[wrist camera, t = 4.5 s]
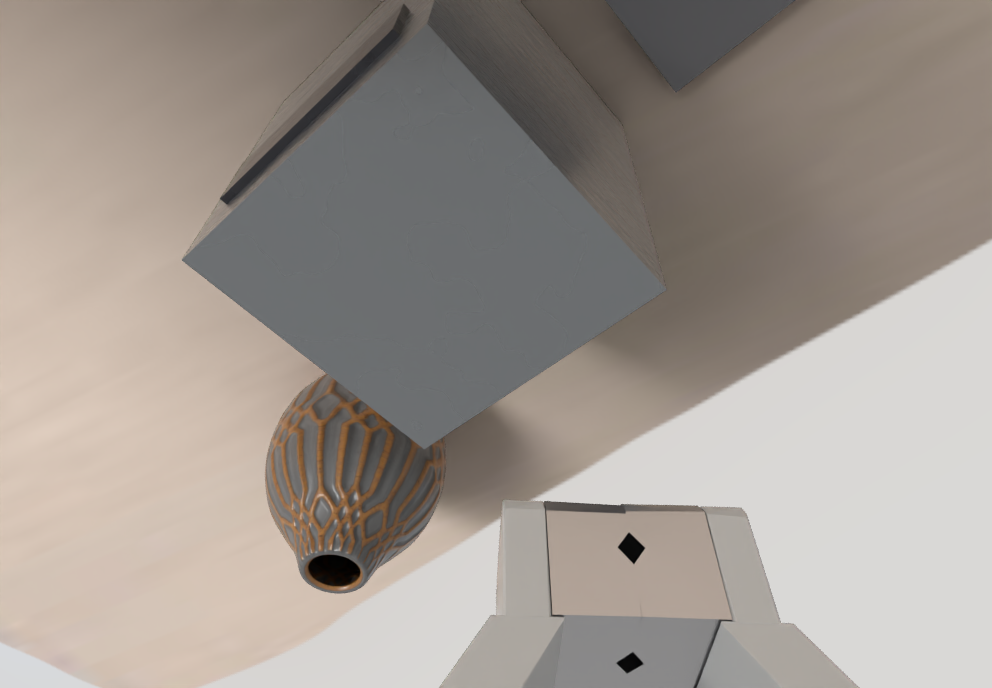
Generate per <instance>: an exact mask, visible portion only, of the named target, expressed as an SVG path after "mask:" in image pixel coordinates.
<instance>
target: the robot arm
mask: <svg viewBox="0 0 992 688" xmlns="http://www.w3.org/2000/svg"><path fill="white" fill-rule="evenodd" d="M439 688H859V687H858V686H857V685H856V684H855V683H854V682H853V681H852V680H851V679H850V678H849V677H848V676H846V675H845V673H844V672H842V671H841V670H840V669H839V668H838V667H837V666H836V665H835V664H834V663H833V662H832V661H831V660H830V659H829V658H828V657H827V656H826V655H825V654H824V653H823V652H822V651H821V650H820V649H819V648H818V647H817V646H816V645H815V644H814V643H813V642H812V641H811V640H810V639H808V637H806V635H805V634H803V633H802V632H801V631H800V630H799V629H798V628H797V627H796V626H795V625H794V624H790V623H781V621H780V618H779V615H778V612H777V609H776V605H775V602H774V599H773V596H772V593H771V589H770V587H769V583H768V580H767V577H766V574H765V571H764V567H763V564H762V561H761V558H760V555H759V551H758V548H757V545H756V542H755V539H754V536H753V532H752V529H751V526H750V523H749V520H748V517H747V514H746V513H745V512H744V511H743V509H742V508H735V507H698V506H683V505H631V504H621V505H602V504H584V503H567V502H550V501H544V503H543V502H542V501H523V500H503V503H502V512H501V525H500V539H499V553H498V572H497V590H496V615H491V616H490V617H489V618H488V620H487V621H486V623H485V624H484V626H483V627H482V628H481V630H480V631H479V632H478V634H477V635H476V637H475V638H474V640H473V641H472V642H471V644H470V645H469V646H468V648H467V649H466V651H465V652H464V653H463V655H462V656H461V658H460V659H459V660H458V662H457V663H456V665H455V666H454V667H453V669H452V670H451V672H450V673H449V674H448V676H447V677H446V679H445V680H444V681H443V683H442V684H441V686H440V687H439Z"/></svg>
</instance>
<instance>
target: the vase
mask: <svg viewBox="0 0 992 688" xmlns="http://www.w3.org/2000/svg"><path fill="white" fill-rule="evenodd" d="M445 469H446V447H445V441H444V437H442V438H441V439H439V440H438V441H436V442H435V443H433V444H432V445H430V446H429V447H427V448H426V449H423V448H422V447H421V446H419V445H418V444H417V443H416V442H414V441H413V440H412V439H410V438H409V437H408V436H407V435H405V434H404V433H403V432H401V431H400V430H399V429H398V428H396V427H395V426H394V425H392V424H391V423H390V422H389V421H387V420H386V419H385V418H383V417H382V416H381V415H380V414H378V413H377V412H376V411H374V410H373V409H372V408H371V407H369V406H368V405H367V404H366V403H364V402H363V401H362V400H360V399H359V398H358V397H357V396H355V395H354V394H353V393H351V392H350V391H349V390H348V389H346V388H345V387H344V386H342V385H341V384H340V383H339V382H337V381H336V380H335V379H333V378H332V377H331V376H330V375H328V374H326V375H324V376H322V377H320V378H318V379H317V380H315V381H314V382H313V383H311V384H310V385H308V386H307V387H306V388H305V389H303V390H302V391H301V392H300V393H299V395H298V396H297V397H296V398H295V399H294V400H293V401H292V402H291V403H290V405H289V406H288V408H287V409H286V410H285V412H284V413H283V415H282V417H281V419H280V421H279V423H278V425H277V427H276V429H275V432H274V434H273V437H272V439H271V442H270V446H269V449H268V453H267V460H266V469H265V483H266V494H267V500H268V505H269V509H270V512H271V515H272V517H273V519H274V521H275V524H276V525H277V527H278V529H279V530H280V532H281V534H282V535H283V537H284V538H285V540H286V541H287V543H288V544H289V546H290V547H291V549H292V550H293V551H294V553H295V556H296V559H297V563H298V568H299V571H300V574H301V576H302V577H303V579H304V580H305V581H306V582H307V583H308V584H309V585H311V586H313V587H314V588H316V589H319V590H321V591H325V592H329V593H348V592H352V591H355V590H358V589H359V588H361V587H362V586H364V585H365V584H366V582H367V581H368V580H369V579H370V577H371V576H372V574H373V573H374V572H375V571H376V570H377V569H378V568H379V567H380V566H382V565H383V564H385V563H386V562H388V561H389V560H391V559H392V558H394V557H395V556H397V555H398V554H400V553H401V552H402V551H404V550H405V549H406V548H408V547H409V546H410V545H411V544H412V543H413V542H414V541H415V540H416V539H417V538H418V537H419V535H420V534H421V533H422V531H423V530H424V529H425V527H426V525H427V524H428V522H429V521H430V519H431V517H432V515H433V513H434V511H435V509H436V506H437V504H438V502H439V499H440V496H441V492H442V489H443V485H444V478H445Z"/></svg>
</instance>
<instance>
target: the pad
mask: <svg viewBox="0 0 992 688" xmlns="http://www.w3.org/2000/svg"><path fill="white" fill-rule="evenodd" d="M605 1H606V2H607V3H608V5H609V6H610V7H611V9H612V10H613V11H614V12H615V14H616V15H617V16H618V18H619V19H620V20H621V22H622V23H623V24H624V26H625V27H626V28H627V29H628V31H629V32H630V33H631V35H632V36H633V37H634V39H635V40H636V41H637V43H638V44H639V45H640V46H641V48H642V49H643V50H644V52H645V53H646V54H647V56H648V57H649V58H650V60H651V61H652V62H653V63H654V65H655V66H656V67H657V69H658V70H659V71H660V73H661V74H662V75H663V77H664V78H665V79H666V80H667V82H668V83H669V84H670V86H671V87H672V88H673V90H674V91H675V92H677V91H679V90H680V89H681V88H683V87H684V86H685V85H687V84H688V83H689V82H690V81H692V80H693V79H694V78H696V77H697V76H698V75H699V74H701V73H702V72H703V71H705V70H706V69H707V68H708V67H710V66H711V65H712V64H714V63H715V62H716V61H718V60H719V59H720V58H721V57H723V56H724V55H725V54H727V53H728V52H729V51H730V50H732V49H733V48H734V47H736V46H737V45H738V44H739V43H741V42H742V41H743V40H745V39H746V38H747V37H748V36H750V35H751V34H752V33H754V32H755V31H756V30H758V29H759V28H760V27H761V26H763V25H764V24H765V23H767V22H768V21H769V20H770V19H772V18H773V17H774V16H776V15H777V14H778V13H779V12H781V11H782V10H783V9H785V8H786V7H787V6H788V5H790V4H791V3H792V2H794V1H795V0H605Z"/></svg>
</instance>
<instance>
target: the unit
mask: <svg viewBox="0 0 992 688" xmlns="http://www.w3.org/2000/svg"><path fill="white" fill-rule="evenodd" d="M182 261H183V262H185V263H186V264H187V265H189V266H190V267H191V268H192V269H194V270H195V271H196V272H198V273H199V274H200V275H201V276H203V277H204V278H205V279H207V280H208V281H209V282H210V283H212V284H213V285H214V286H215V287H217V288H218V289H219V290H221V291H222V292H223V293H224V294H226V295H227V296H228V297H230V298H231V299H232V300H233V301H235V302H236V303H237V304H239V305H240V306H241V307H242V308H244V309H245V310H246V311H248V312H249V313H250V314H251V315H253V316H254V317H255V318H257V319H258V320H259V321H260V322H262V323H263V324H264V325H265V326H267V327H268V328H269V329H271V330H272V331H273V332H274V333H276V334H277V335H278V336H280V337H281V338H282V339H283V340H285V341H286V342H287V343H289V344H290V345H291V346H292V347H294V348H295V349H296V350H298V351H299V352H300V353H301V354H303V355H304V356H305V357H307V358H308V359H309V360H310V361H312V362H313V363H314V364H316V365H317V366H318V367H319V368H321V369H322V370H323V371H324V372H326V373H327V374H328V375H330V376H331V377H332V378H333V379H335V380H336V381H337V382H339V383H340V384H341V385H342V386H344V387H345V388H346V389H348V390H349V391H350V392H351V393H353V394H354V395H355V396H357V397H358V398H359V399H360V400H362V401H363V402H364V403H366V404H367V405H368V406H369V407H371V408H372V409H373V410H374V411H376V412H377V413H378V414H380V415H381V416H382V417H383V418H385V419H386V420H387V421H389V422H390V423H391V424H392V425H394V426H395V427H396V428H398V429H399V430H400V431H401V432H403V433H404V434H405V435H407V436H408V437H409V438H410V439H412V440H413V441H414V442H416V443H417V444H418V445H419V446H421V447H422V448H423V449H426V448H427V447H429V446H430V445H432V444H433V443H435V442H436V441H438V440H439V439H441V438H442V437H444V436H445V435H447V434H448V433H450V432H451V431H453V430H454V429H456V428H457V427H459V426H461V425H462V424H464V423H465V422H467V421H468V420H470V419H471V418H473V417H474V416H476V415H477V414H479V413H480V412H482V411H483V410H485V409H486V408H488V407H489V406H491V405H492V404H494V403H495V402H497V401H498V400H500V399H502V398H503V397H505V396H506V395H508V394H509V393H511V392H512V391H514V390H515V389H517V388H518V387H520V386H521V385H523V384H524V383H526V382H527V381H529V380H530V379H532V378H533V377H535V376H536V375H538V374H539V373H541V372H543V371H544V370H546V369H547V368H549V367H550V366H552V365H553V364H555V363H556V362H558V361H559V360H561V359H562V358H564V357H565V356H567V355H568V354H570V353H571V352H573V351H574V350H576V349H577V348H579V347H581V346H582V345H584V344H585V343H587V342H588V341H590V340H591V339H593V338H594V337H596V336H597V335H599V334H600V333H602V332H603V331H605V330H606V329H608V328H609V327H611V326H612V325H614V324H615V323H617V322H618V321H620V320H622V319H623V318H625V317H626V316H628V315H629V314H631V313H632V312H634V311H635V310H637V309H638V308H640V307H641V306H643V305H644V304H646V303H647V302H649V301H650V300H652V299H653V298H655V297H656V296H658V295H659V294H661V293H663V292H664V291H666V290H667V289H666V285H665V281H664V278H663V274H662V270H661V266H660V263H659V259H658V255H657V251H656V248H655V244H654V240H653V236H652V233H651V229H650V225H649V222H648V218H647V214H646V210H645V207H644V203H643V199H642V195H641V192H640V188H639V184H638V180H637V177H636V173H635V169H634V165H633V162H632V158H631V154H630V151H629V147H628V143H627V139H626V136H625V132H624V128H623V125H622V124H621V123H620V121H619V120H618V119H617V118H616V117H615V115H614V114H613V113H612V112H611V110H610V109H609V108H608V107H607V106H606V104H605V103H604V102H603V101H602V100H601V98H600V97H599V96H598V95H597V93H596V92H595V91H594V90H593V89H592V87H591V86H590V85H589V84H588V83H587V81H586V80H585V79H584V78H583V76H582V75H581V74H580V73H579V72H578V70H577V69H576V68H575V67H574V66H573V64H572V63H571V62H570V61H569V59H568V58H567V57H566V56H565V55H564V53H563V52H562V51H561V50H560V49H559V47H558V46H557V45H556V44H555V42H554V41H553V40H552V39H551V38H550V36H549V35H548V34H547V33H546V32H545V30H544V29H543V28H542V27H541V25H540V24H539V23H538V22H537V21H536V19H535V18H534V17H533V16H532V15H531V13H530V12H529V11H528V10H527V8H526V7H525V6H524V5H523V4H522V2H521V1H520V0H384V1H383V2H382V3H381V4H380V5H379V6H378V7H377V8H376V9H375V10H374V11H373V12H372V13H371V14H370V15H369V16H368V17H367V18H366V19H365V20H364V21H363V22H362V23H361V24H360V25H359V26H358V27H357V28H356V29H355V30H354V31H353V32H352V33H351V34H350V35H349V36H348V37H347V38H346V39H345V40H344V42H343V43H342V44H341V45H340V46H339V47H338V48H337V49H336V50H335V51H334V52H333V53H332V54H331V55H330V56H329V57H328V58H327V59H326V60H325V61H324V62H323V63H322V64H321V65H320V66H319V67H318V68H317V69H316V70H315V71H314V72H313V73H312V74H311V75H310V76H309V77H308V78H307V79H306V80H305V81H304V82H303V83H302V84H301V85H300V86H299V87H298V88H297V89H296V90H295V91H294V92H293V93H292V94H291V95H290V96H289V97H288V98H287V99H286V100H285V101H284V102H283V103H282V105H281V106H280V108H279V109H278V111H277V112H276V114H275V115H274V117H273V119H272V120H271V122H270V123H269V125H268V126H267V128H266V129H265V131H264V133H263V134H262V136H261V137H260V139H259V140H258V142H257V143H256V145H255V147H254V148H253V150H252V151H251V153H250V154H249V156H248V157H247V159H246V161H245V162H244V163H243V164H242V165H241V167H240V168H239V170H238V171H237V173H236V174H235V176H234V178H233V179H232V181H231V182H230V184H229V185H228V187H227V188H226V190H225V192H224V193H223V195H222V196H221V198H220V201H219V203H218V204H217V206H216V207H215V209H214V210H213V212H212V213H211V215H210V217H209V218H208V220H207V221H206V223H205V224H204V226H203V227H202V229H201V231H200V232H199V234H198V235H197V237H196V238H195V240H194V241H193V243H192V245H191V246H190V248H189V249H188V251H187V252H186V254H185V255H184V257H183V259H182Z"/></svg>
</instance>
